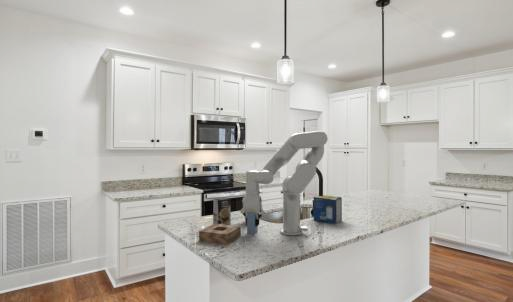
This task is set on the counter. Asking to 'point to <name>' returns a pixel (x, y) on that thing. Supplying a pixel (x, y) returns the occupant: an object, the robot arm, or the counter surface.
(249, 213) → the peg
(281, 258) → the counter surface
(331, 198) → the protein box
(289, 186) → the robot arm
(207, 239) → the socket block
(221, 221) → the coffee box
